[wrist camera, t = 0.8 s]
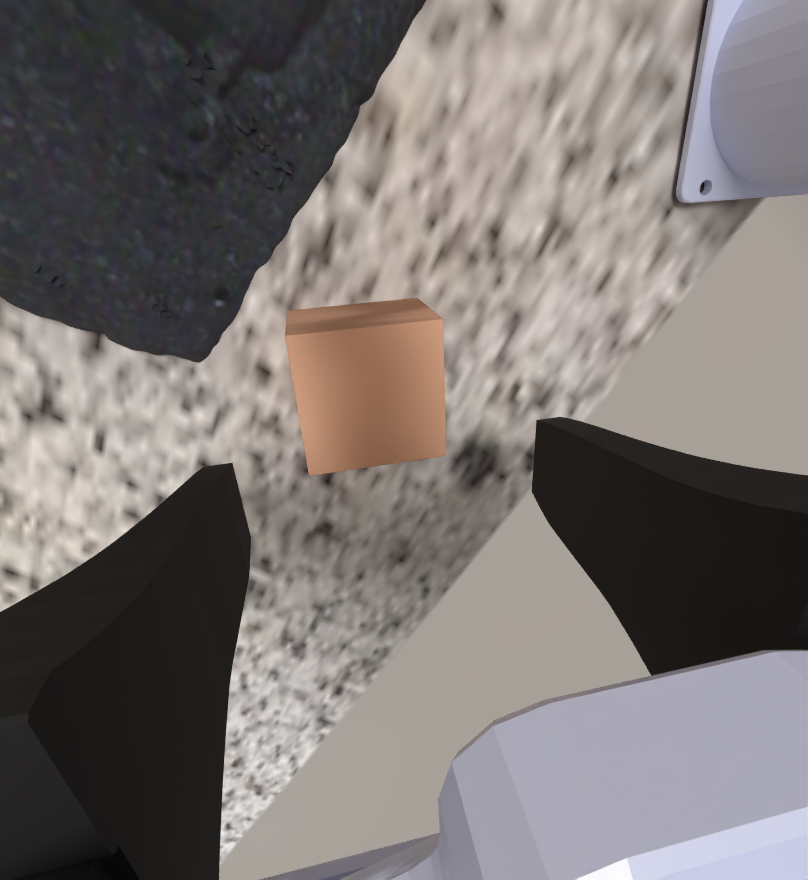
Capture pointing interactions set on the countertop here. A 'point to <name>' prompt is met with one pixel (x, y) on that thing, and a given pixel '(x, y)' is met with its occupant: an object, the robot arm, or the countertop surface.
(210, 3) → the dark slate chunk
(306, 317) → the terracotta block
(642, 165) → the countertop surface
